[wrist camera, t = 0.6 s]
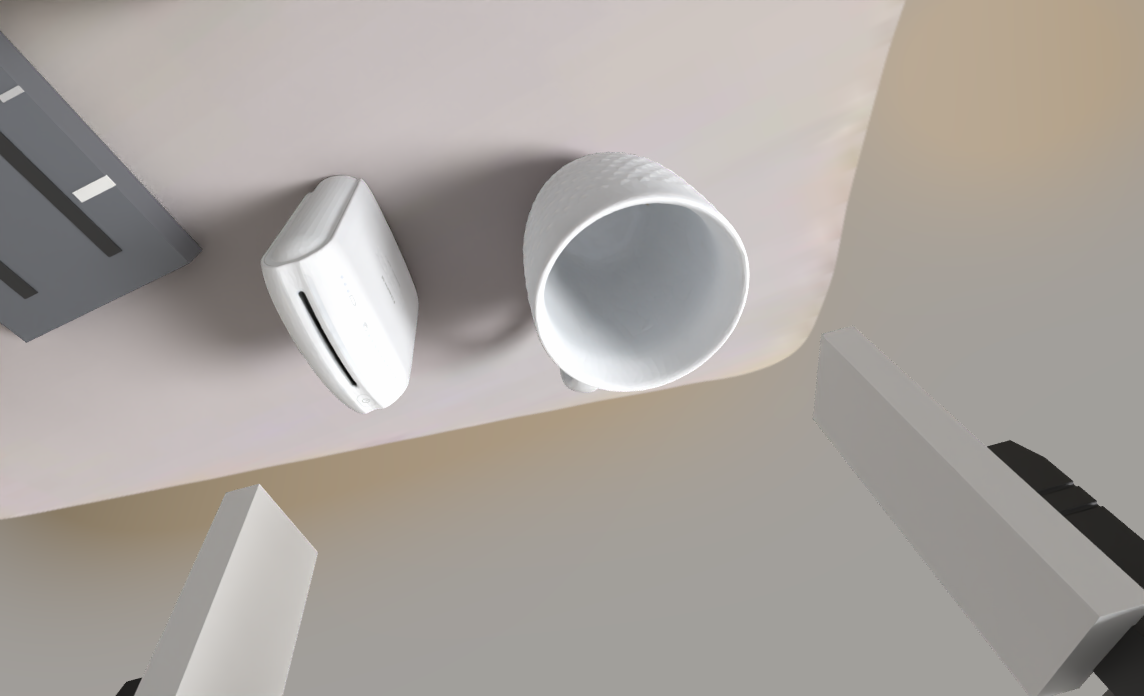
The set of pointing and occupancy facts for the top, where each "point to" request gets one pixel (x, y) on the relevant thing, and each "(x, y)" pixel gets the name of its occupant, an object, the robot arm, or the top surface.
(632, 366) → the mug
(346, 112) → the top surface
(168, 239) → the console
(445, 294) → the top surface
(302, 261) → the photo printer
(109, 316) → the top surface
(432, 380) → the top surface
